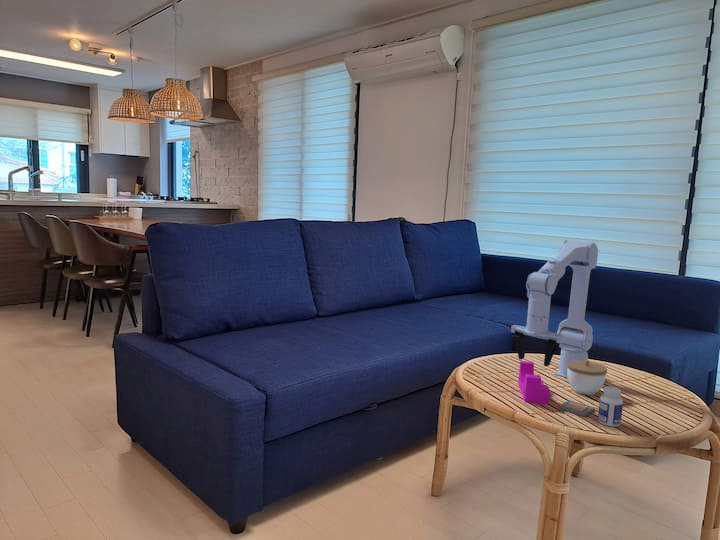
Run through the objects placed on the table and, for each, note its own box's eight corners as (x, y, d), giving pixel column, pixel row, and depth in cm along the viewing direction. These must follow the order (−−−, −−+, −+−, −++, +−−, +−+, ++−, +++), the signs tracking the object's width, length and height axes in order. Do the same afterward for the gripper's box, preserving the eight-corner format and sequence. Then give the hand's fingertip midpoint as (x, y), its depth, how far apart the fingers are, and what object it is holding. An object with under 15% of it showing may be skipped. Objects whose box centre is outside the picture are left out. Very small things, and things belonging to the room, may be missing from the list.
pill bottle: (618, 420, 130) (622, 387, 129) (622, 428, 125) (626, 394, 124) (596, 416, 132) (599, 384, 131) (598, 424, 127) (602, 390, 126)
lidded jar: (557, 386, 154) (560, 356, 152) (584, 383, 157) (587, 354, 156) (584, 399, 144) (587, 367, 142) (612, 396, 148) (616, 365, 146)
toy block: (548, 405, 139) (550, 379, 138) (524, 403, 140) (526, 377, 139) (539, 386, 153) (541, 362, 152) (517, 384, 154) (520, 360, 153)
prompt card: (568, 402, 141) (569, 399, 141) (594, 410, 137) (594, 407, 136) (558, 408, 136) (558, 405, 136) (584, 417, 132) (584, 414, 131)
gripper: (507, 312, 145) (503, 358, 146) (557, 322, 134) (552, 371, 136) (519, 309, 150) (515, 353, 151) (568, 318, 139) (563, 366, 141)
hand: (533, 362), depth 144 cm, fingers open, 7 cm apart
